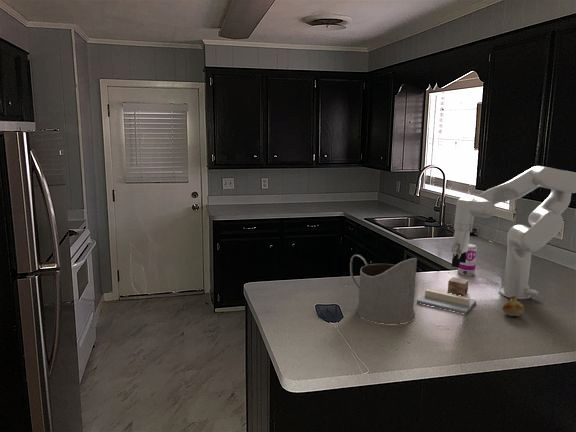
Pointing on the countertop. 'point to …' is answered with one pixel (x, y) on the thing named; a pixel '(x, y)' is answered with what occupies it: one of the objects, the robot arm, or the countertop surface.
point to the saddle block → (458, 286)
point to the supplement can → (469, 262)
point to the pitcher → (386, 291)
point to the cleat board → (446, 301)
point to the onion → (513, 307)
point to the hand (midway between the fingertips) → (458, 264)
